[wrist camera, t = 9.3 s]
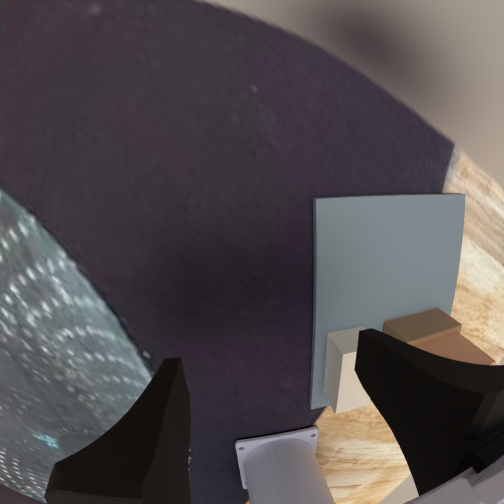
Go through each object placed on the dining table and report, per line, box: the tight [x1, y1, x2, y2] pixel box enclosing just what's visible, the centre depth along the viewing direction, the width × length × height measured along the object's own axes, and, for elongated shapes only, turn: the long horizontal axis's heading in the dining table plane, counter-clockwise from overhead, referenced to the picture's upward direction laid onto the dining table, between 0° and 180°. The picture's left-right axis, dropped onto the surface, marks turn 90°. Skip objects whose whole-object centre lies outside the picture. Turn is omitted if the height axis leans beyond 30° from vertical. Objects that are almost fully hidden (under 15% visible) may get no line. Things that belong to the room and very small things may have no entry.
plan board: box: [309, 194, 465, 414], centre depth 22 cm, size 18×14×4 cm
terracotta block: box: [414, 331, 496, 365], centre depth 19 cm, size 5×5×5 cm
